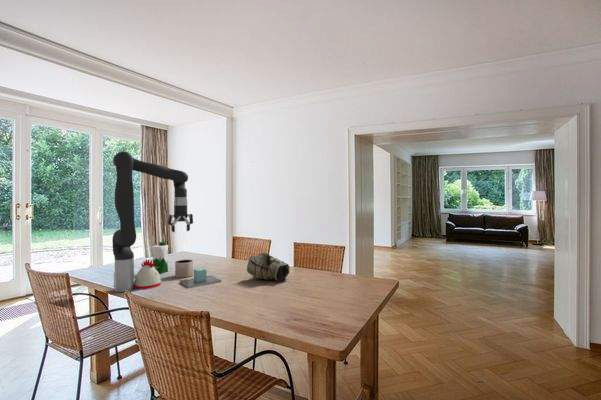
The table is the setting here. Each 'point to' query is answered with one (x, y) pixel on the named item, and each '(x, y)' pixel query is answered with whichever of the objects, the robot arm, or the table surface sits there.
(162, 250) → the milk carton
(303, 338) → the table surface
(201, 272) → the teal plastic block
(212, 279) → the shaft plate
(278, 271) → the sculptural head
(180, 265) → the planter
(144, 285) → the kitchen timer
